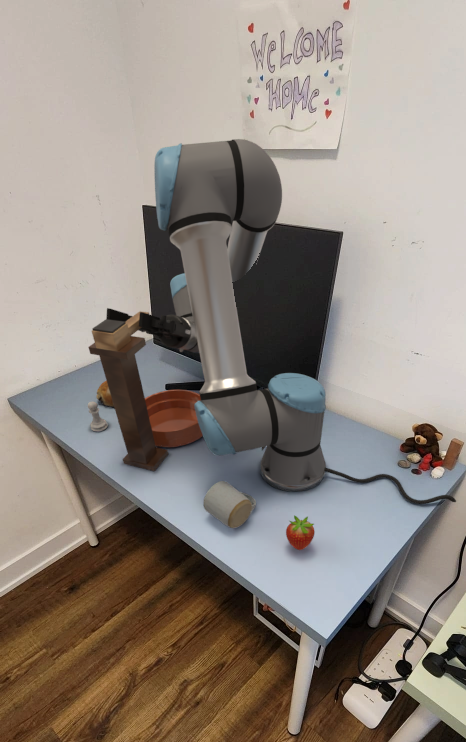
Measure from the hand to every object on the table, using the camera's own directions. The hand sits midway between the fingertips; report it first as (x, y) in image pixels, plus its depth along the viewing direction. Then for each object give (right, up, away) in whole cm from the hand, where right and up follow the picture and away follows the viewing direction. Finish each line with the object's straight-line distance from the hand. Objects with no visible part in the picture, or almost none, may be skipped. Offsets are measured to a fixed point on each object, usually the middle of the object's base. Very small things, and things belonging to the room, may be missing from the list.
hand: (124, 317), depth 86 cm
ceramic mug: (+22, -40, +6) cm, 46 cm away
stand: (0, -27, +21) cm, 34 cm away
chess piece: (-15, -17, +32) cm, 40 cm away
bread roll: (-14, -7, +43) cm, 45 cm away
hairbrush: (0, -3, +2) cm, 3 cm away
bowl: (+6, -17, +31) cm, 35 cm away
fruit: (+35, -47, -1) cm, 59 cm away
